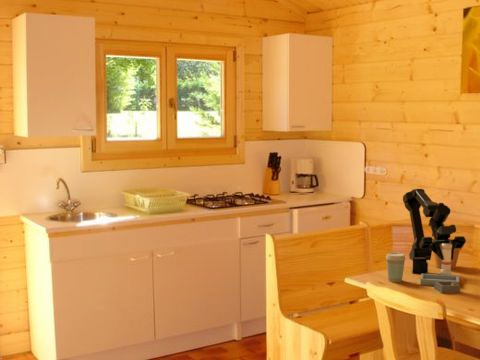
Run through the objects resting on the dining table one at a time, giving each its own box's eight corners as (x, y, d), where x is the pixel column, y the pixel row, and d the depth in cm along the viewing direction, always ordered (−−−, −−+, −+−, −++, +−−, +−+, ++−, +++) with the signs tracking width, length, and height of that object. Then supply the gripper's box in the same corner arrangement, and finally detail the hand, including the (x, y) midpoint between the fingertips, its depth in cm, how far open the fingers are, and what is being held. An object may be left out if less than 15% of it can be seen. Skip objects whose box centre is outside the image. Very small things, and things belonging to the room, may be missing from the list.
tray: (420, 284, 291) (420, 279, 291) (421, 278, 301) (421, 273, 301) (459, 287, 286) (459, 281, 286) (458, 281, 297) (458, 275, 296)
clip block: (434, 288, 285) (434, 281, 285) (452, 287, 286) (452, 280, 286) (441, 293, 277) (441, 286, 277) (460, 292, 278) (460, 285, 278)
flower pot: (437, 262, 334) (438, 236, 333) (465, 266, 325) (466, 240, 324) (425, 267, 323) (426, 241, 322) (454, 271, 314) (455, 244, 313)
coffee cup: (406, 279, 300) (407, 253, 299) (402, 284, 293) (403, 257, 291) (387, 277, 304) (388, 251, 303) (383, 282, 296) (383, 255, 295)
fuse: (440, 274, 282) (441, 244, 280) (440, 272, 286) (441, 242, 284) (451, 275, 281) (452, 245, 279) (450, 273, 285) (451, 243, 283)
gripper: (422, 218, 284) (431, 249, 274) (465, 217, 285) (475, 248, 276) (415, 233, 292) (424, 263, 283) (456, 232, 294) (466, 262, 284)
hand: (447, 259), depth 281 cm, fingers closed on fuse, 4 cm apart
